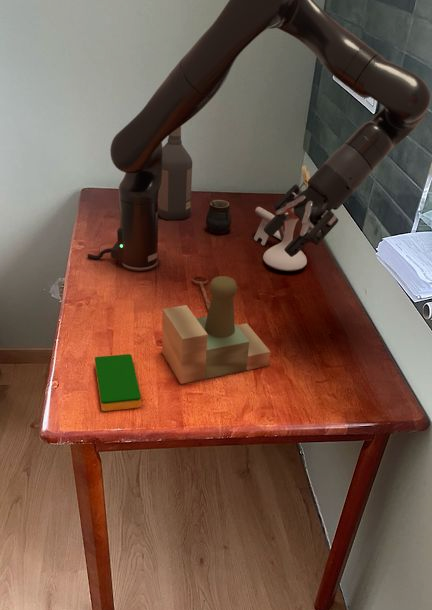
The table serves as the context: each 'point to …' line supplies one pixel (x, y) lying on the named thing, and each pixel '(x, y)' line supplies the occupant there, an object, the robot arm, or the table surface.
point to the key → (203, 289)
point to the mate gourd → (218, 216)
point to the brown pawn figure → (221, 307)
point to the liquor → (175, 180)
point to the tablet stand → (265, 220)
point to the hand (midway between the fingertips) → (276, 243)
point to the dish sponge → (117, 382)
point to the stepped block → (207, 347)
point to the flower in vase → (277, 254)
